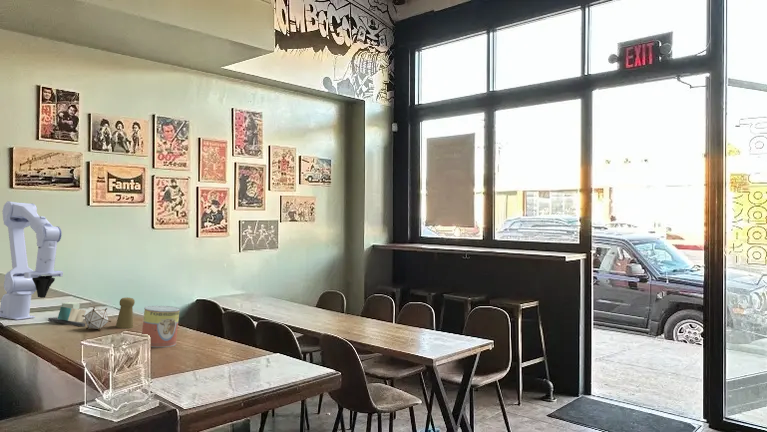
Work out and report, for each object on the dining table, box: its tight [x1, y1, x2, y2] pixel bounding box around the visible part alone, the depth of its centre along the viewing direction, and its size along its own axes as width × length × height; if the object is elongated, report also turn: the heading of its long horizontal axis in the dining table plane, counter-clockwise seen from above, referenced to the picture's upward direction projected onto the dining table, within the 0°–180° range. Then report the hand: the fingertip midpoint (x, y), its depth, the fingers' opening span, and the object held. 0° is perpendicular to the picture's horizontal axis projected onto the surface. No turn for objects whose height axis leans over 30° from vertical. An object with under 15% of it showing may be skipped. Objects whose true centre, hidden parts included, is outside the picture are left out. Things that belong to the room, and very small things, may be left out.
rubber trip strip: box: [47, 317, 86, 327], centre depth 208 cm, size 16×1×1 cm, turn 74°
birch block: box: [56, 306, 86, 323], centre depth 210 cm, size 4×4×8 cm
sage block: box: [61, 301, 81, 310], centre depth 218 cm, size 4×4×6 cm
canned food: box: [141, 305, 181, 348], centre depth 190 cm, size 11×11×12 cm
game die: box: [82, 306, 112, 332], centre depth 202 cm, size 9×8×10 cm
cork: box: [115, 297, 136, 329], centre depth 212 cm, size 6×6×11 cm
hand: (41, 297), depth 201 cm, fingers closed
